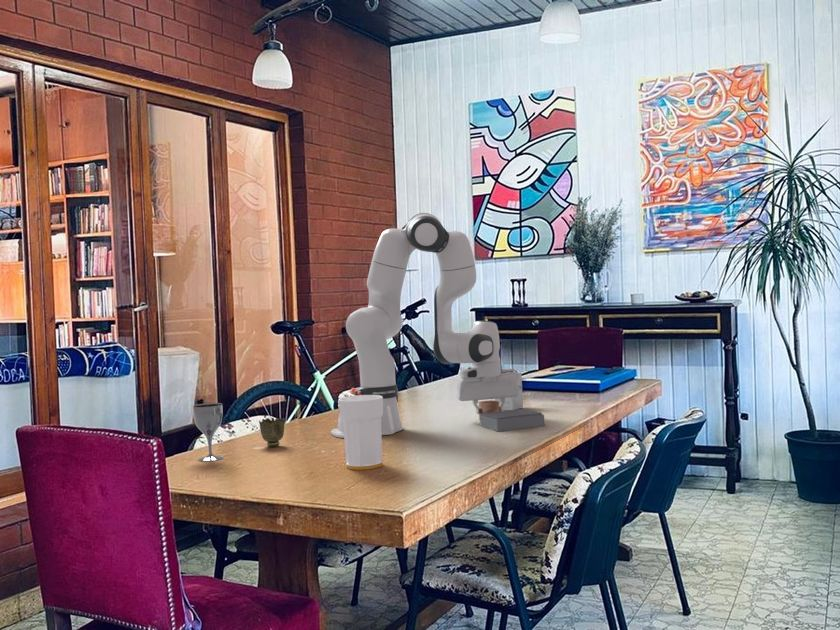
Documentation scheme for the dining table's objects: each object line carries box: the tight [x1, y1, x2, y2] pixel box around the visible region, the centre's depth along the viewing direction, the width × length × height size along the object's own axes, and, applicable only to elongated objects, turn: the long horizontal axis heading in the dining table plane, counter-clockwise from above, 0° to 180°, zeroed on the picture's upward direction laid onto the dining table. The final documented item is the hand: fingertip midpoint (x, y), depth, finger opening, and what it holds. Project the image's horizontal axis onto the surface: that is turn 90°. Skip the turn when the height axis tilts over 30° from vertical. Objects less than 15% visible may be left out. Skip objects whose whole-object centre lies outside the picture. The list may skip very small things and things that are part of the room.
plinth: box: [479, 408, 546, 432], centre depth 266 cm, size 16×12×4 cm
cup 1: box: [258, 417, 286, 448], centre depth 252 cm, size 8×7×8 cm
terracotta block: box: [478, 399, 499, 421], centre depth 279 cm, size 5×5×6 cm
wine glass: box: [192, 402, 225, 463], centre depth 238 cm, size 8×8×15 cm
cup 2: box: [338, 395, 383, 471], centre depth 218 cm, size 11×11×17 cm
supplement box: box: [494, 371, 524, 411], centre depth 301 cm, size 7×7×13 cm
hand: (489, 412), depth 279 cm, fingers closed on terracotta block, 5 cm apart
